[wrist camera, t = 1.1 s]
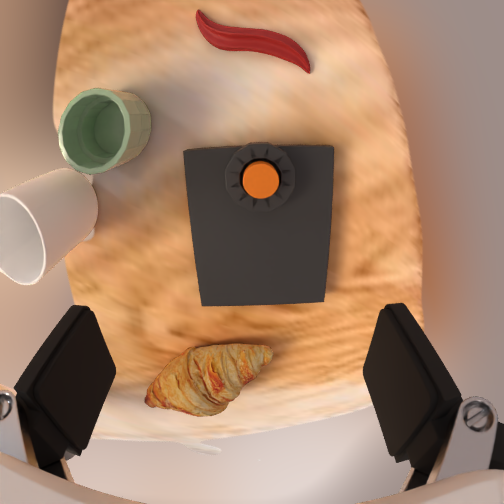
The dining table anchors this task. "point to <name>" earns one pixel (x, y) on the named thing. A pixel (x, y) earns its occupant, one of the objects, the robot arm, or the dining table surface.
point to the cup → (44, 222)
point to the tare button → (260, 180)
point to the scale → (260, 224)
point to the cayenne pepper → (252, 41)
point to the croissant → (207, 378)
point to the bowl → (103, 130)
